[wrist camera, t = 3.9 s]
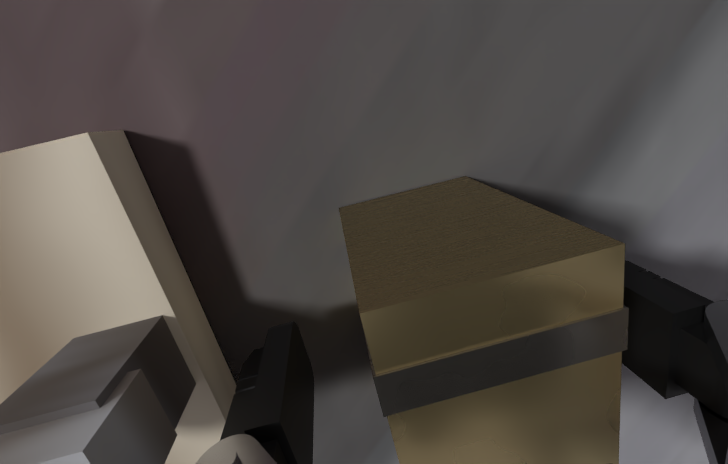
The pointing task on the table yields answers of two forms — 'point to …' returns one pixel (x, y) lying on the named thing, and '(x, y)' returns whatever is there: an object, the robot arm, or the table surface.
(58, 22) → the table surface
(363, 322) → the tan rectangular block
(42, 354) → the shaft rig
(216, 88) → the table surface
